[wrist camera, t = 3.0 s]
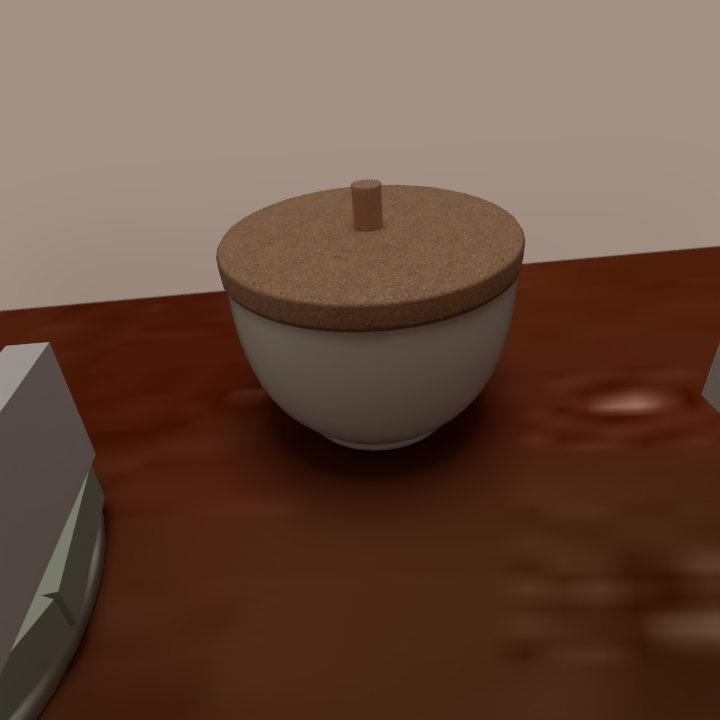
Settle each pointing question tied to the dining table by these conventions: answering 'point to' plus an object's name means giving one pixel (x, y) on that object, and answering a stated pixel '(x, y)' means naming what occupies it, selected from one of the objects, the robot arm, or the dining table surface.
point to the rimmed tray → (57, 610)
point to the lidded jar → (373, 306)
